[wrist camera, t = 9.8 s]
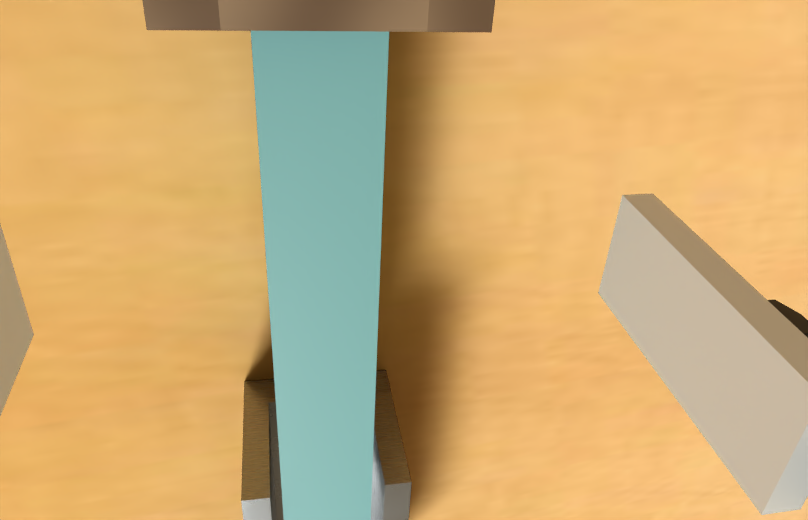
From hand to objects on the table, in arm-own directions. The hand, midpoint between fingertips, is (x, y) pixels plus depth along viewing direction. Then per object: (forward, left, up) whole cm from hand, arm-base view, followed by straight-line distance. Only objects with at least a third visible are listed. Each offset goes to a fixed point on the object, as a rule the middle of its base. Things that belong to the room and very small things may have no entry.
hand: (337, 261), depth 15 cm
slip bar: (0, -7, -13) cm, 15 cm away
